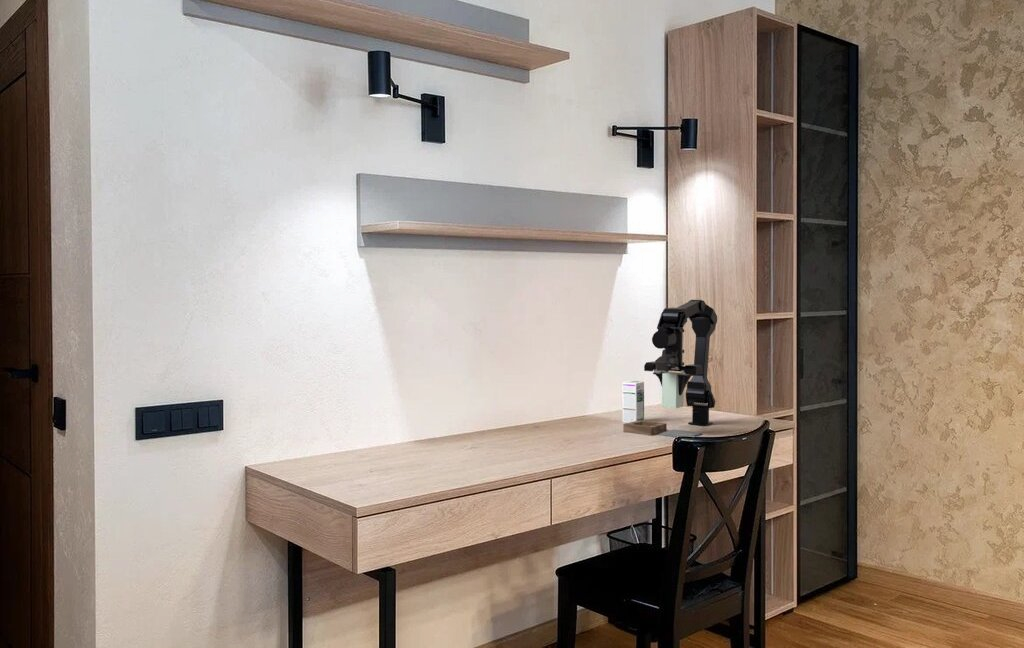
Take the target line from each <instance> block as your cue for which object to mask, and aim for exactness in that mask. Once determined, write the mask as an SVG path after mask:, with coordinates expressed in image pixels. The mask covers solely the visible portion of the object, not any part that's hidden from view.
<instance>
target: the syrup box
mask: <svg viewBox="0 0 1024 648" xmlns="http://www.w3.org/2000/svg"><path fill="white" fill-rule="evenodd" d="M621 383H622V384H621V385H622V391H621V392H622V394H621V395H622V404H621V405H622V417H621V418H622V423H623V424H626V423H630V422H634V421H638V420H641V421H645V382H644V381H640V380H628V381H623V382H621Z"/></svg>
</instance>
